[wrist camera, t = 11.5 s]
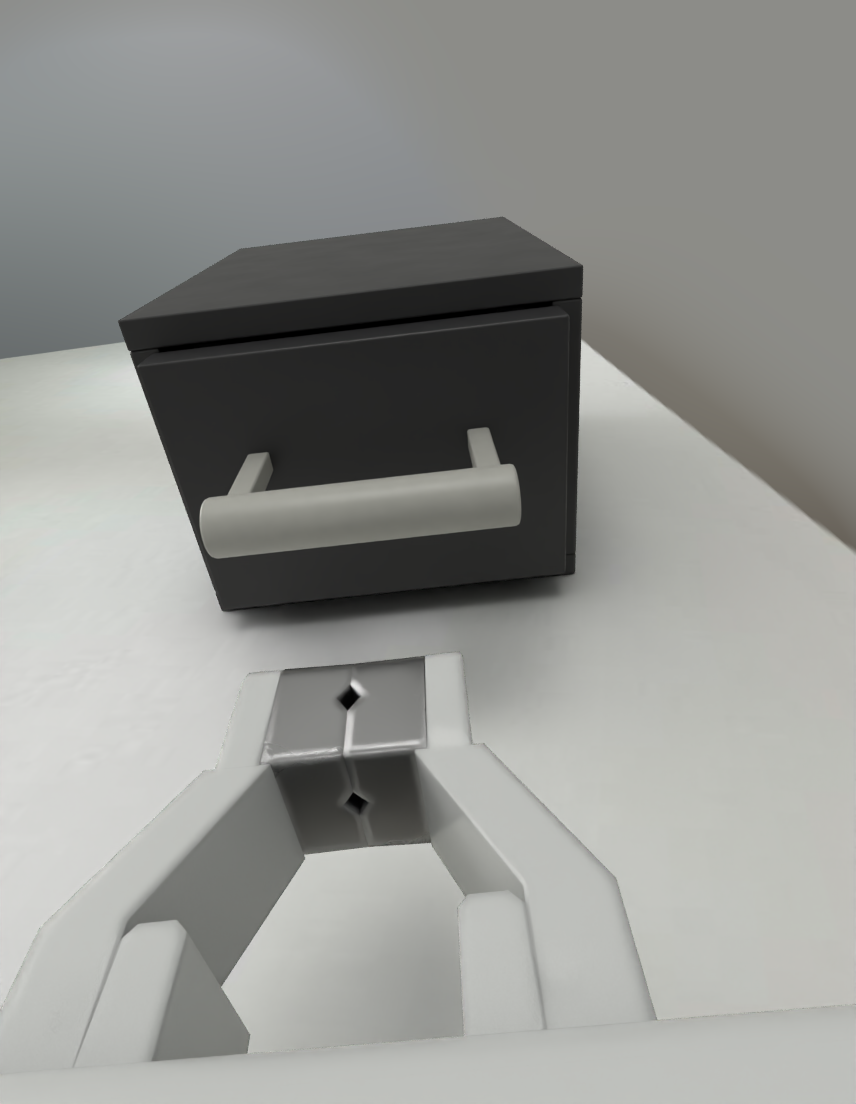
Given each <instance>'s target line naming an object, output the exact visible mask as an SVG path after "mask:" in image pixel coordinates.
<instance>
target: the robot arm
mask: <svg viewBox="0 0 856 1104" xmlns="http://www.w3.org/2000/svg"><path fill="white" fill-rule="evenodd" d="M420 843H432V847H433V848H434V850H435V851H436V853H437V854H438V856H439V857H440V859H441V860H442V862H443V863H444V865H445V866H446V868H447V869H448V871H449V873H450V874H451V876H452V877H453V879H454V880H455V882H456V883H457V885H458V886H459V888H460V889H461V891H462V892H463V894H464V895H465V897H466V898H465V899H464V900H463V902H462V903H461V904H460V905H459V907H458V908H457V910H458V929H459V949H460V968H461V987H462V1007H463V1026H464V1036H456V1037H444V1038H432V1039H420V1040H408V1041H395V1042H383V1043H371V1044H359V1045H347V1046H334V1047H322V1048H310V1049H298V1050H286V1051H273V1052H261V1053H249V1054H247V1051H248V1045H249V1039H250V1034H249V1032H248V1030H247V1029H246V1027H245V1026H244V1024H243V1022H242V1021H241V1019H240V1017H239V1016H238V1014H237V1013H236V1011H235V1009H234V1008H233V1006H232V1004H231V1003H230V1001H229V1000H228V998H227V996H226V995H225V993H224V991H223V990H222V988H221V986H222V985H223V983H224V982H225V980H226V979H227V977H228V976H229V974H230V972H231V971H232V969H233V968H234V966H235V965H236V963H237V962H238V960H239V959H240V957H241V956H242V954H243V953H244V951H245V950H246V948H247V947H248V945H249V943H250V942H251V940H252V939H253V937H254V936H255V934H256V933H257V931H258V930H259V928H260V927H261V925H262V924H263V922H264V921H265V919H266V918H267V916H268V915H269V913H270V911H271V910H272V908H273V907H274V905H275V904H276V902H277V901H278V899H279V898H280V896H281V895H282V893H283V892H284V890H285V889H286V887H287V886H288V884H289V882H290V881H291V879H292V878H293V876H294V875H295V873H296V872H297V870H298V869H299V867H300V866H301V864H302V863H303V861H304V860H305V857H304V855H305V854H313V853H321V852H330V851H338V850H346V849H354V848H363V847H374V846H389V845H405V844H420ZM0 1104H856V1004H850V1005H838V1006H825V1007H813V1008H801V1009H789V1010H776V1011H764V1012H752V1013H739V1014H727V1015H715V1016H702V1017H690V1018H678V1019H666V1020H657V1018H656V1014H655V1011H654V1007H653V1004H652V1000H651V997H650V993H649V990H648V987H647V983H646V980H645V976H644V973H643V969H642V966H641V962H640V959H639V955H638V952H637V949H636V945H635V942H634V938H633V935H632V931H631V928H630V924H629V921H628V917H627V914H626V911H625V907H624V904H623V900H622V897H621V893H620V890H619V886H618V883H617V879H616V877H615V876H614V875H613V874H612V873H611V872H610V871H609V870H608V869H607V868H606V867H605V866H604V865H603V864H602V863H601V862H600V861H599V860H598V859H597V858H596V857H595V856H594V855H593V854H592V853H591V852H590V851H589V850H588V849H587V848H586V847H585V846H584V845H583V844H582V843H581V842H580V841H579V840H578V839H577V838H576V837H575V836H574V835H573V834H572V833H571V832H570V831H569V830H568V829H567V828H566V827H565V826H564V824H563V823H562V822H561V821H560V820H559V819H558V818H557V817H556V816H555V815H554V814H553V813H552V812H551V811H550V810H549V809H548V808H547V807H546V806H545V805H544V804H543V803H542V802H541V801H540V800H539V799H538V798H537V797H536V796H535V795H534V794H533V793H532V792H531V791H530V790H529V789H528V788H527V787H526V786H525V785H524V784H523V783H522V782H521V781H520V780H519V779H518V778H517V777H516V776H515V775H514V774H513V773H512V771H511V770H510V769H509V768H508V767H507V766H506V765H505V764H504V763H503V762H502V761H501V760H500V759H499V758H498V757H497V756H496V755H495V754H494V753H493V752H492V751H491V750H490V749H489V748H488V747H487V746H486V745H485V744H472V735H471V726H470V717H469V708H468V699H467V690H466V681H465V672H464V663H463V655H462V653H461V652H460V651H458V652H449V653H441V654H433V655H426V656H420V657H411V658H402V659H393V660H384V661H375V662H366V663H357V664H347V665H334V666H321V667H309V668H296V669H285V670H283V671H268V672H254V673H249V674H248V675H247V676H246V678H245V679H244V680H243V681H242V684H241V687H240V691H239V694H238V697H237V700H236V703H235V707H234V710H233V713H232V716H231V719H230V723H229V726H228V729H227V732H226V735H225V738H224V742H223V745H222V748H221V751H220V754H219V758H218V761H217V764H216V767H215V769H214V770H206V771H203V772H202V773H201V774H200V775H199V776H198V777H196V778H195V779H194V780H193V781H192V782H191V783H190V784H189V785H188V786H187V787H186V788H185V789H184V790H183V791H182V792H181V793H180V794H179V795H178V796H177V797H176V798H175V799H174V800H172V801H171V802H170V803H169V804H168V805H167V806H166V807H165V808H164V809H163V810H162V811H161V812H160V813H159V814H158V815H157V816H156V817H155V818H154V819H153V820H152V821H151V822H150V823H148V824H147V825H146V826H145V827H144V828H143V829H142V830H141V831H140V832H139V833H138V834H137V835H136V836H135V837H134V838H133V839H132V840H131V841H130V842H129V843H128V844H127V845H126V846H124V847H123V848H122V849H121V850H120V851H119V852H118V853H117V854H116V855H115V856H114V857H113V858H112V859H111V860H110V861H109V862H108V863H107V864H106V865H105V866H104V867H103V868H102V869H100V870H99V871H98V872H97V873H96V874H95V875H94V876H93V877H92V878H91V879H90V880H89V881H88V882H87V883H86V884H85V885H84V886H83V887H82V888H81V889H80V890H79V891H78V892H76V893H75V894H74V895H73V896H72V897H71V898H70V899H69V900H68V901H67V902H66V903H65V904H64V905H63V906H62V907H61V908H60V909H59V910H58V911H57V912H56V913H55V914H54V915H52V916H51V917H50V918H49V919H48V920H47V921H46V922H45V923H44V924H43V925H42V926H41V927H40V928H39V930H38V932H37V934H36V936H35V938H34V940H33V942H32V945H31V947H30V949H29V951H28V953H27V955H26V957H25V959H24V961H23V963H22V966H21V968H20V970H19V972H18V974H17V976H16V978H15V980H14V982H13V984H12V986H11V989H10V991H9V993H8V995H7V997H6V999H5V1001H4V1003H3V1005H2V1007H1V1010H0Z"/></svg>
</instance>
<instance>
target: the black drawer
mask: <svg viewBox="0 0 856 1104" xmlns="http://www.w3.org/2000/svg"><path fill="white" fill-rule="evenodd" d="M194 347H195V349H187V350H178V351H170V352H161V353H153V354H152V355H150V356H149V357H148V358H147V359H145V360H144V361H143V362H142V363H140V364H139V365H138V371H139V374H140V377H141V379H142V382H143V385H144V388H145V391H146V394H147V396H148V399H149V402H150V405H151V408H152V410H153V413H154V416H155V419H156V422H157V424H158V427H159V430H160V433H161V436H162V438H163V441H164V444H165V447H166V450H167V452H168V455H169V458H170V461H171V464H172V467H173V469H174V472H175V475H176V478H177V481H178V483H179V486H180V489H181V492H182V495H183V497H184V500H185V503H186V506H187V509H188V511H189V514H190V517H191V520H192V523H193V526H194V528H195V531H196V534H197V537H198V540H199V542H200V545H201V548H202V551H203V554H204V556H205V559H206V562H207V565H208V568H209V570H210V573H211V576H212V579H213V582H214V584H215V587H216V590H217V593H218V596H219V599H220V601H221V604H222V607H223V609H235V608H244V607H253V606H262V605H272V604H281V603H290V602H300V601H309V600H318V599H328V598H337V597H346V596H356V595H365V594H374V593H384V592H393V591H402V590H412V589H421V588H430V587H440V586H449V585H458V584H468V583H477V582H486V581H495V580H505V579H514V578H523V577H533V576H542V575H551V574H561V573H565V566H566V503H567V440H568V377H569V315H568V314H567V313H566V312H565V311H564V310H563V309H562V308H561V307H560V306H550V307H542V308H533V309H525V307H524V305H515V306H507V307H498V308H490V309H481V310H473V311H464V312H456V313H448V314H439V315H431V316H422V317H414V318H405V319H397V320H388V321H380V322H372V323H363V324H355V325H346V326H338V327H329V328H321V329H313V330H304V331H296V332H287V333H279V334H270V335H262V336H253V337H245V338H237V339H228V340H220V341H211V342H203V343H196V344H195V345H194Z"/></svg>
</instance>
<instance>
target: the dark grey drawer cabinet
mask: <svg viewBox="0 0 856 1104" xmlns="http://www.w3.org/2000/svg"><path fill="white" fill-rule="evenodd" d="M582 286H583V265H581V264H579V263H578V262H576V261H575V260H573V259H572V258H570V257H568V256H567V255H565V254H563V253H562V252H560V251H558V250H556V249H555V248H553V247H551V246H550V245H549V244H547V243H545V242H544V241H542V240H540V239H539V238H537V237H536V236H534V235H532V234H531V233H529V232H527V231H526V230H524V229H522V228H521V227H519V226H517V225H516V224H514V223H513V222H511V221H509V220H508V219H506V218H504V217H497V218H490V219H482V220H472V221H464V222H457V223H448V224H440V225H431V226H423V227H415V228H407V229H399V230H391V231H382V232H374V233H366V234H358V235H350V236H342V237H334V238H325V239H317V240H309V241H302V242H293V243H284V244H276V245H268V246H260V247H251V248H243V249H239V250H238V251H236V252H234V253H232V254H231V255H229V256H227V257H226V258H224V259H222V260H221V261H219V262H217V263H216V264H214V265H212V266H210V267H209V268H207V269H206V270H204V271H202V272H200V273H199V274H197V275H195V276H193V277H192V278H190V279H188V280H187V281H185V282H183V283H182V284H180V285H178V286H176V287H175V288H173V289H171V290H170V291H168V292H166V293H165V294H163V295H161V296H160V297H158V298H156V299H154V300H153V301H151V302H149V303H148V304H146V305H144V306H143V307H141V308H139V309H138V310H136V311H134V312H133V313H131V314H129V315H127V316H126V317H124V318H122V319H120V320H119V321H118V323H119V326H120V328H121V331H122V334H123V337H124V340H125V343H126V345H127V348H128V350H129V351H131V352H130V355H131V358H132V361H133V363H134V366H135V369H136V372H137V375H138V377H139V380H140V383H141V386H142V389H143V391H144V394H145V397H146V400H147V403H148V405H149V408H150V411H151V414H152V416H153V419H154V422H155V425H156V428H157V430H158V433H159V436H160V439H161V442H162V444H163V447H164V450H165V453H166V456H167V458H168V461H169V464H170V467H171V470H172V472H173V475H174V478H175V481H176V484H177V486H178V489H179V492H180V495H181V497H182V500H183V503H184V506H185V509H186V511H187V514H188V517H189V520H190V523H191V525H192V528H193V531H194V534H195V537H196V539H197V542H198V545H199V548H200V551H201V553H202V556H203V559H204V562H205V565H206V567H207V570H208V573H209V576H210V578H211V581H212V584H213V587H214V590H215V591H216V596H217V599H218V601H219V604H220V607H221V610H222V611H225V610H234V609H223V607H222V604H221V601H220V599H219V596H218V593H217V590H216V587H215V584H214V582H213V579H212V576H211V573H210V570H209V568H208V565H207V562H206V559H205V556H204V554H203V551H202V548H201V545H200V542H199V540H198V537H197V534H196V531H195V528H194V526H193V523H192V520H191V517H190V514H189V511H188V509H187V506H186V503H185V500H184V497H183V495H182V492H181V489H180V486H179V483H178V481H177V478H176V475H175V472H174V469H173V467H172V464H171V461H170V458H169V455H168V452H167V450H166V447H165V444H164V441H163V438H162V436H161V433H160V430H159V427H158V424H157V422H156V419H155V416H154V413H153V410H152V408H151V405H150V402H149V399H148V396H147V394H146V391H145V388H144V385H143V382H142V379H141V377H140V374H139V371H138V365H139V364H140V363H142V362H143V361H144V360H145V359H147V358H148V357H149V356H150V355H152V354H153V353H161V352H170V351H178V350H187V349H195V347H194V345H195V344H196V343H203V342H211V341H220V340H228V339H237V338H245V337H253V336H262V335H270V334H279V333H287V332H296V331H304V330H313V329H321V328H329V327H338V326H346V325H355V324H363V323H372V322H380V321H388V320H397V319H405V318H414V317H422V316H431V315H439V314H448V313H456V312H464V311H473V310H481V309H490V308H498V307H507V306H515V305H524V307H525V309H533V308H542V307H550V306H560V307H561V308H562V309H563V310H564V311H565V312H566V313H567V314H568V315H569V377H568V440H567V503H566V566H565V573H561V574H570V573H574V572H575V551H576V514H577V475H578V436H579V398H580V359H581V320H582V299H581V297H582V289H583V288H582ZM561 574H551V575H561ZM551 575H542V576H551ZM542 576H533V577H542ZM533 577H523V578H533ZM523 578H514V579H523ZM514 579H505V580H514ZM505 580H495V581H505ZM495 581H486V582H495ZM486 582H477V583H486ZM477 583H468V584H477ZM468 584H458V585H468ZM458 585H449V586H458ZM449 586H440V587H449ZM440 587H430V588H440ZM430 588H421V589H430ZM421 589H412V590H421ZM412 590H402V591H412ZM402 591H393V592H402ZM393 592H384V593H393ZM384 593H374V594H384ZM374 594H365V595H374ZM365 595H356V596H365ZM356 596H346V597H356ZM346 597H337V598H346ZM337 598H328V599H337ZM328 599H318V600H328ZM318 600H309V601H318ZM309 601H300V602H309ZM300 602H290V603H300ZM290 603H281V604H290ZM281 604H272V605H281ZM272 605H262V606H272ZM262 606H253V607H262ZM253 607H244V608H253ZM244 608H235V609H244Z"/></svg>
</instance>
